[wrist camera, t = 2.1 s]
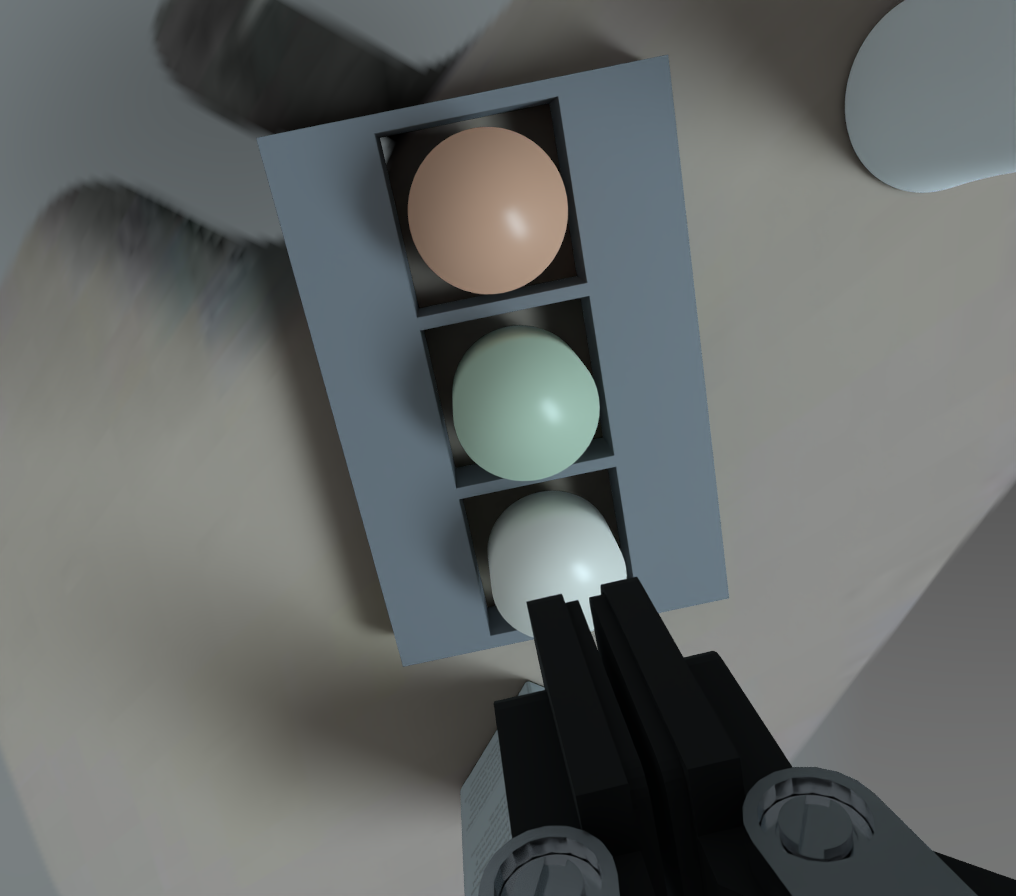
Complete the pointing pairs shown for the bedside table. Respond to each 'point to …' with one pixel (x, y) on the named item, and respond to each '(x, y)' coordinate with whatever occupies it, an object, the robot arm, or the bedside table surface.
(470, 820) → the skincare box
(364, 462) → the button board
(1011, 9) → the cosmetic bottle
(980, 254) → the bedside table surface
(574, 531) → the ivory button
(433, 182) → the terracotta button
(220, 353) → the bedside table surface
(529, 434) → the sage button
